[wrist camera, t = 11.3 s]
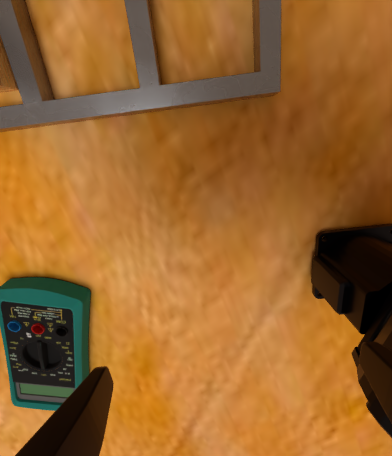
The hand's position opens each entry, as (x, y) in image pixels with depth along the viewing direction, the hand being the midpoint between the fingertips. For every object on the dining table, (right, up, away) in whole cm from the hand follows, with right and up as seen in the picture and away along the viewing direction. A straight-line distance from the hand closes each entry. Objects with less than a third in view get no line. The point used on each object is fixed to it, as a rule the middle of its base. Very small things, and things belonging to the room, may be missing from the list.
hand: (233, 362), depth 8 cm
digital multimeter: (-16, -6, +16) cm, 23 cm away
